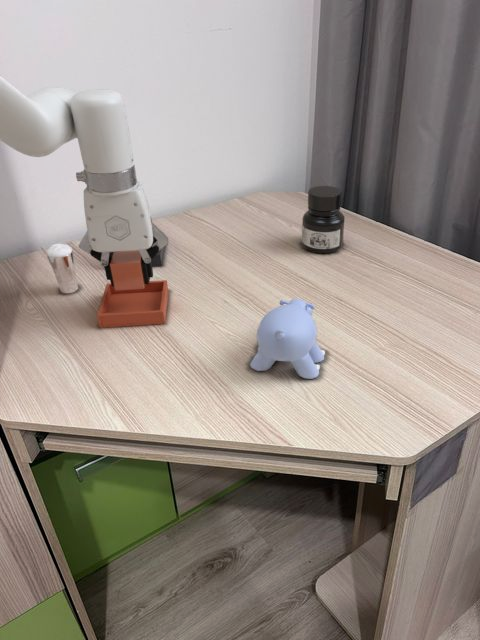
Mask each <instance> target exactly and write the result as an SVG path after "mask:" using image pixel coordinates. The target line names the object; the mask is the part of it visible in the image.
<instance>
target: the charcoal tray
mask: <svg viewBox="0 0 480 640" xmlns="http://www.w3.org/2000/svg"><path fill="white" fill-rule="evenodd" d="M156 241H157V239H156V238H155V237H153V243H152V245H153V244H154V243H155V242H156ZM165 247H166V245H165V246H164V247H163V248H162V249H160V250H159V252H158V253H157V254H156V255H155V256H154V258H153V259H152V260H151V263H152V267H162V266H163V259H164V253H165ZM113 253H114V252H111V257H112V256H113Z"/></svg>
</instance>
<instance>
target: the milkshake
mask: <svg viewBox="0 0 480 640" xmlns="http://www.w3.org/2000/svg"><path fill="white" fill-rule="evenodd" d="M40 248H41V250H42V251H43V252H44V253H45V254H46V257H47V260H48V261H49V264H50V267H51V269H52V271H53V274H54V277H55V279H56V283H57V285H58V287H59V290H60V293H61V294H65V295H67V294H73V293H75V292H77V291H78V289H79V286H78V285H79V284H78V279H77V273H76V267H75V260H74V253H73V248H72V246H70V245H68V244H66V243H56V244H55V243H54V244H51V245H50V246H49V247H48V248H47V249H46V250H45V249H44V248H43V247H42V246H40Z"/></svg>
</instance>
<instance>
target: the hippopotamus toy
mask: <svg viewBox="0 0 480 640" xmlns="http://www.w3.org/2000/svg"><path fill="white" fill-rule="evenodd" d="M279 305H280V306H277V307H275V308H273V309H271V310H269V311H268V312H267V313H266V314H265V315H264V316H263V317H262V319H261V320H260V322H259V324H258V327H257V331H256V341H257V345H258V347H257V353H256V354H255V355H254V357H253V359H252V360H251V361H250V363H249V366H250V368H251V369H253V370H254V371H257V372H265V371H268V370H270V369H271V368H272V366H273V365H274V364H275V362H276V361H279V362H290V364H291V365H292V366H293V368H294V370H295V372H296V374H297V375H298V376H299V377H301V378H303V379H307V380H312V379H316V378H318V376H319V375H320V368H321V366H320V364H319V363H321V362H323V361H324V359H325V355H326V351H325V350H324V349H321V348H320V346H319V344H318V342H317V340H316V339H317V336H318V330H317V329H318V328H317V324H316V321H315V319H314V318H313V310H315V309H316V306H315V304H314V303H310V302H306V300H304V299H300V298H292V299H291V300H289V301H288V300H285V299H281V300H280V301H279Z"/></svg>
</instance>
